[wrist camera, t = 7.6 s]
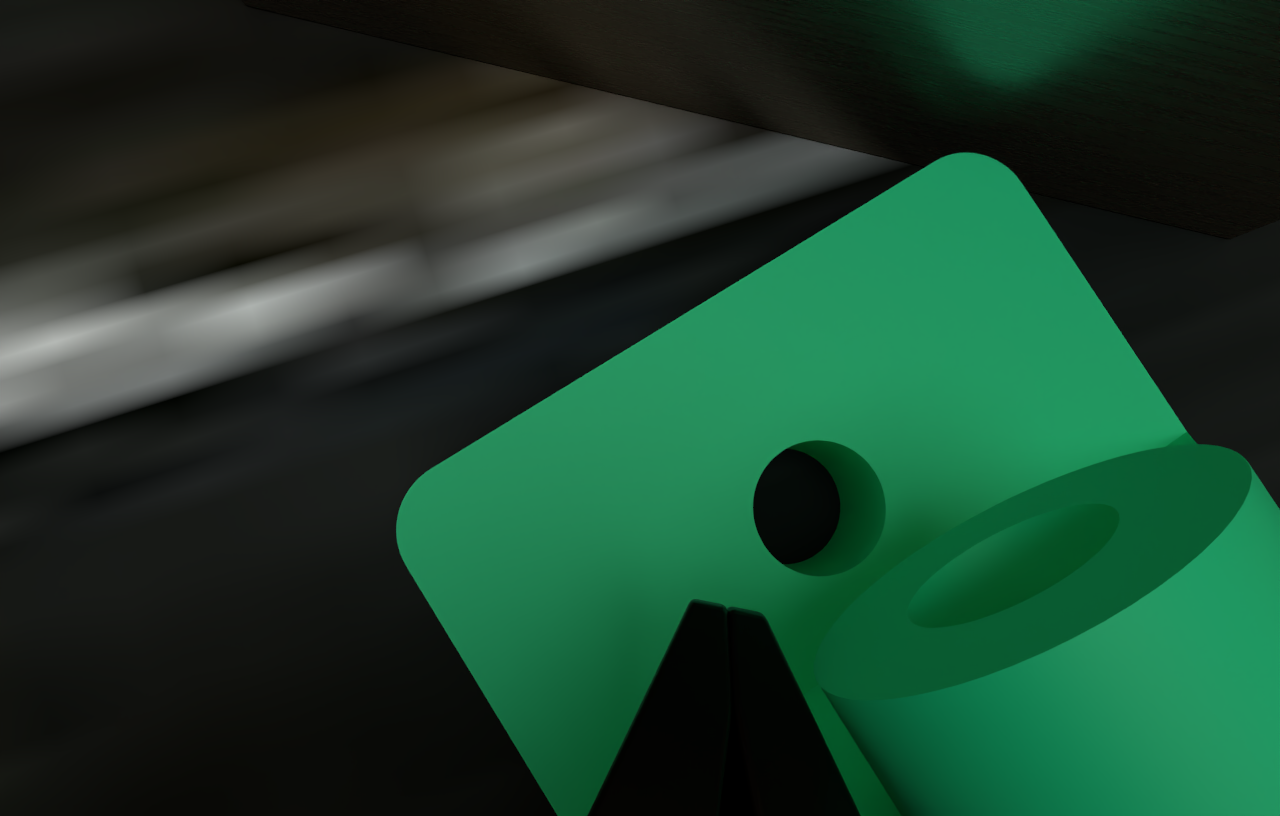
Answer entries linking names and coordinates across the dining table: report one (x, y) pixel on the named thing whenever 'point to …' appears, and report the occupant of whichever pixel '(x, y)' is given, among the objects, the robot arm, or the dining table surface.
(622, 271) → the dining table surface
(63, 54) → the dining table surface
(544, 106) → the dining table surface
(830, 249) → the camera mount
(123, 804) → the dining table surface
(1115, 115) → the grey upright panel
